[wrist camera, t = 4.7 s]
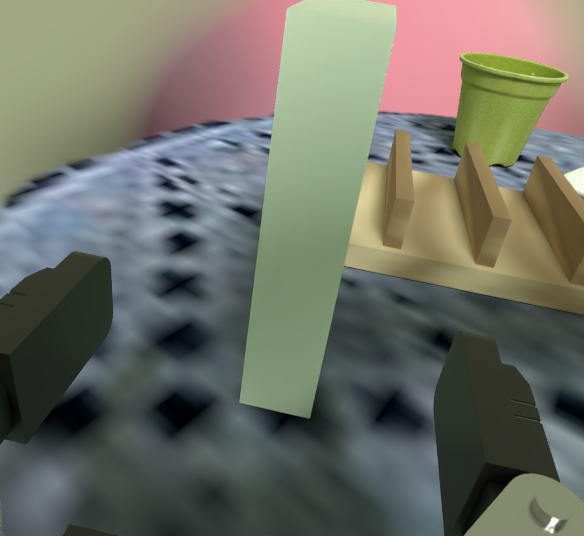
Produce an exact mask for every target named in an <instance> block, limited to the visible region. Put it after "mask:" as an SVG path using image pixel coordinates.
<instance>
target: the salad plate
mask: <svg viewBox="0 0 584 536" xmlns="http://www.w3.org/2000/svg"><path fill="white" fill-rule="evenodd" d="M564 176H565V177H566V178H567V180H568V181H569V182H570V184H571V185H572V186H573V188H574V189H575V190H576V192H577V193H578V194H579V196H580V197H581V198H582V200H583V201H584V167H582V168H579V169H576V170H574V171H571V172H569V173H566V174H564Z"/></svg>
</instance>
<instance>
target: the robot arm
mask: <svg viewBox="0 0 584 536" xmlns="http://www.w3.org/2000/svg"><path fill="white" fill-rule="evenodd" d="M112 318H113V301H112V280H111V265H110V261H109V260H108V258H105V257H101V256H96V255H91V254H86V253H81V252H76V251H75V252H72V253H71V254H69V255H68V256H67V257H66V258H65V259H64V260H63V261H62V262H61V263H60V264H59V265H58V266H57V267H55V268H54V269H52V268H45V269H43V270H41V271H38V272H36V273H34V274H32V275H30V276H27V277H25V278H24V279H23V280H22V281H21V282H20V283H19V284H17V285H16V286H15V287H14V288H13V289H12V290H11V291H10V294H6V295H5V296H4V297H3V298H2V299H0V444H1V443H2V442H3V441H4V439H6V440H10V441H15V442H19V443H23V444H27V442H28V441H29V440H30V438H31V437H32V436H33V434H34V433H35V431H36V430H37V429H38V427H39V426H40V425H41V423H42V422H43V421H44V419H45V418H46V417H47V415H48V414H49V413H50V411H51V410H52V409H53V407H54V406H55V405H56V403H57V402H58V401H59V399H60V398H61V397H62V395H63V394H64V393H65V391H66V390H67V389H68V387H69V386H70V385H71V383H72V382H73V381H74V379H75V378H76V377H77V375H78V374H79V373H80V371H81V370H82V369H83V367H84V366H85V365H86V363H87V362H88V360H89V359H90V358H91V356H92V355H93V354H94V352H95V351H96V350H97V348H98V347H99V346H100V344H101V343H102V342H103V340H104V339H105V338H106V336H107V334H108V332H109V329H110V327H111V323H112ZM535 405H536V404H535V400H534V397H533V394H532V391H531V388H530V385H529V384H528V382H527V381H526V380H525V379H524V377H523V376H522V375H521V374H520V372H519V371H518V370H517V369H516V367H515V366H511V365H506V364H502V363H501V361H500V357H499V353H498V349H497V345H496V342H495V340H494V339H493V338H489V337H484V336H479V335H474V334H470V333H465V332H460V331H459V332H458V333H457V334H456V336H455V338H454V340H453V343H452V345H451V348H450V351H449V353H448V356H447V359H446V361H445V364H444V366H443V369H442V372H441V374H440V377H439V380H438V383H437V386H436V390H435V396H434V421H435V432H436V444H437V455H438V467H439V478H440V490H441V501H442V512H443V524H444V535H445V536H584V503H583V502H582V501H581V499H580V498H579V497H578V496H577V495H576V494H575V493H574V492H572V491H571V490H570V489H569V488H567V487H566V486H564V485H563V484H561V483H560V480H559V477H558V474H557V470H556V467H555V464H554V461H553V458H552V454H551V451H550V448H549V445H548V442H547V439H546V435H545V432H544V429H543V426H542V424H540V420H541V419H540V416H539V413H538V410H537V408H535ZM0 536H3V525H2V514H1V503H0ZM63 536H116V535H112V534H108V533H104V532H100V531H96V530H91V529H87V528H83V527H79V526H75V525H71V524H70V525H69V526H68V528H67V530H66V532H65V533H64V535H63Z"/></svg>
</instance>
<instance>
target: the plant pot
mask: <svg viewBox="0 0 584 536" xmlns="http://www.w3.org/2000/svg"><path fill="white" fill-rule="evenodd" d="M460 61H462V62H463V63H462V71H461V78H462V86H461V93H460V100H459V107H458V114H457V120H456V127H455V133H454V139H453V146H452V148H453V150H456V151H457V152H458V154H459V156H461V157H462V154H463V151H464V147H465V144H466V143H471V144H476V145H480V147H481V149H482V152H483V154H484V156H485V159H486V161H487V163H488V165H489V166H490V165H494V164H501V165H502V166H504V167H507V166H511V165H513V164H515V163H516V161H517V159H518V157H519V155H520V153H521V151H522V149H523V148H524V146H525V144H526V142H527V140H528V138H529V136H530V134H531V132H532V131H533V129H534V127H535V125H536V123H537V121H538V119H539V118H540V116H541V114H542V112H543V110H544V108H545V107H546V105H547V103H548V101H549V100H550V98H552V97H553V96H554V95H555V94H556V92H557V90H558V88H559V87H560V85H561V83H562V82H566V81H567V80H568V78H569V75H568V74H567V73H565V72H564V71H561V70H559V69H556V68H554V67H550V66H547V65H544V64H540V63H536V62H533V61H529V60H524V59H519V58H514V57H508V56H503V55H497V54H487V53H472V52H471V53H462V54H461V55H460Z"/></svg>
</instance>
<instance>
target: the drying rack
mask: <svg viewBox="0 0 584 536" xmlns="http://www.w3.org/2000/svg"><path fill="white" fill-rule="evenodd" d="M344 266H347V267H352V268H357V269H362V270H367V271H372V272H377V273H381V274H386V275H391V276H396V277H401V278H406V279H411V280H416V281H421V282H426V283H430V284H435V285H440V286H445V287H450V288H455V289H460V290H465V291H470V292H474V293H479V294H484V295H489V296H494V297H499V298H504V299H509V300H514V301H519V302H523V303H528V304H533V305H538V306H543V307H548V308H553V309H558V310H563V311H568V312H572V313H577V314H582V315H584V201H583V200H582V198H581V197H580V196H579V194H578V193H577V192H576V190H575V189H574V188H573V186H572V185H571V184H570V182H569V181H568V180H567V178H566V177H565V176H564V174H563V173H562V172H561V171H560V169H559V168H558V167H557V165H556V164H555V163H554V161H553V160H552V159H551V158H546V157H541V156H537V158H536V161H535V163H534V166H533V168H532V171H531V173H530V176H529V179H528V181H527V184H526V186H525V189H524V191H518V190H513V189H508V188H503V187H498V186H497V184H496V181H495V179H494V177H493V175H492V172H491V170H490V168H489V165H488V163H487V161H486V159H485V156H484V154H483V152H482V149H481V147H480V145H476V144H471V143H466V144H465V147H464V151H463V154H462V157H461V160H460V163H459V166H458V170H457V173H456V176H455V178H450V177H445V176H439V175H434V174H429V173H423V172H418V171H413V170H412V162H411V148H410V135H409V132H406V131H400V130H396V131H395V135H394V140H393V144H392V148H391V152H390V156H389V160H388V164H387V165H381V164H376V163H371V162H367V164H366V168H365V173H364V177H363V182H362V186H361V191H360V195H359V200H358V204H357V209H356V213H355V218H354V222H353V227H352V231H351V236H350V240H349V245H348V249H347V254H346V258H345V263H344Z"/></svg>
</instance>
